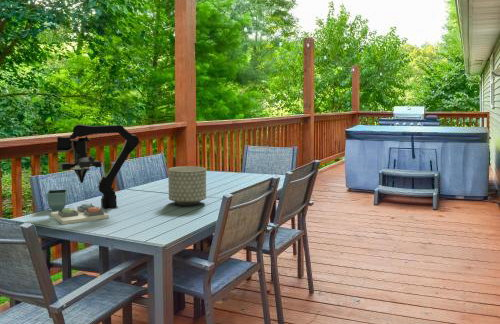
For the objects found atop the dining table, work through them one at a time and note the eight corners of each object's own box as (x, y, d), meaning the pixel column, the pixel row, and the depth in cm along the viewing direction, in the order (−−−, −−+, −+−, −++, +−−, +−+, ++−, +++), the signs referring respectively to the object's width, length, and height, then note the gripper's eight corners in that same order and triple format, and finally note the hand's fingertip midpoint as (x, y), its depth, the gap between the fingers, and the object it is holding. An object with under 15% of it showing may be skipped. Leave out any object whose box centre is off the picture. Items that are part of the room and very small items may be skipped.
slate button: (90, 208, 241) (90, 202, 240) (93, 209, 237) (93, 204, 236) (80, 209, 238) (79, 204, 237) (83, 211, 234) (83, 205, 234)
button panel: (94, 210, 244) (93, 203, 244) (108, 218, 228) (108, 211, 228) (51, 215, 233) (50, 209, 232) (63, 224, 217) (63, 217, 216)
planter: (199, 208, 248) (199, 172, 246) (163, 206, 252) (162, 170, 250) (210, 200, 267) (210, 166, 264) (176, 199, 270) (175, 165, 268)
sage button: (72, 212, 231) (71, 207, 230) (75, 214, 227) (75, 209, 227) (61, 214, 228) (61, 208, 228) (64, 216, 224) (64, 210, 224)
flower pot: (47, 212, 240) (46, 193, 239) (49, 208, 248) (48, 190, 247) (66, 211, 242) (66, 192, 241) (68, 207, 251) (67, 189, 249)
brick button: (97, 211, 232) (97, 206, 232) (101, 213, 229) (100, 208, 228) (87, 213, 230) (86, 207, 229) (90, 215, 226) (90, 209, 225)
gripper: (65, 153, 231) (66, 187, 233) (105, 151, 241) (106, 183, 243) (58, 151, 240) (59, 183, 242) (97, 149, 250) (98, 180, 252)
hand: (81, 182), depth 244 cm, fingers closed
